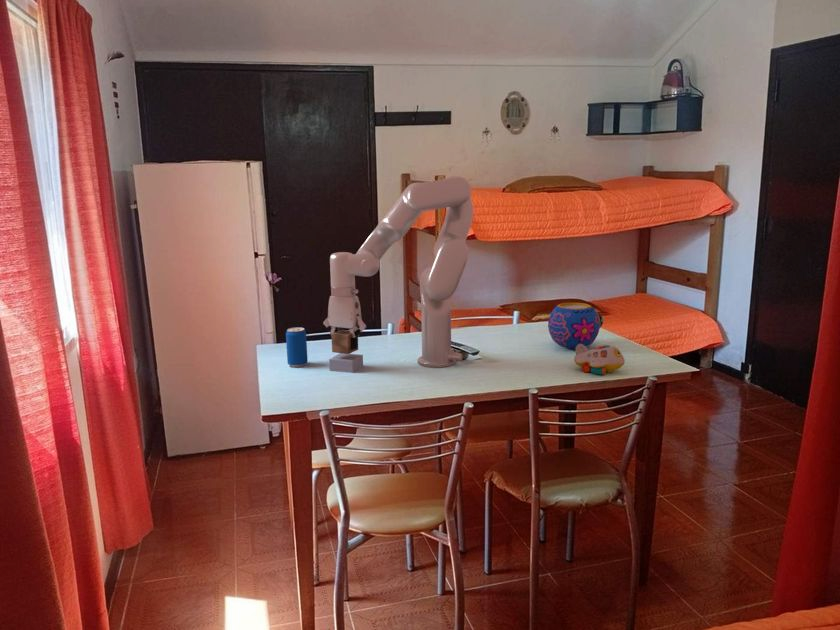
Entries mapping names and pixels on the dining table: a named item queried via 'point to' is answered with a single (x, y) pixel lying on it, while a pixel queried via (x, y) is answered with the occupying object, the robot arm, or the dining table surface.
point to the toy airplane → (598, 359)
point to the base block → (346, 362)
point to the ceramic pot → (574, 324)
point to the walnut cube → (342, 342)
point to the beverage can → (296, 347)
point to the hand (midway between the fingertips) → (345, 347)
